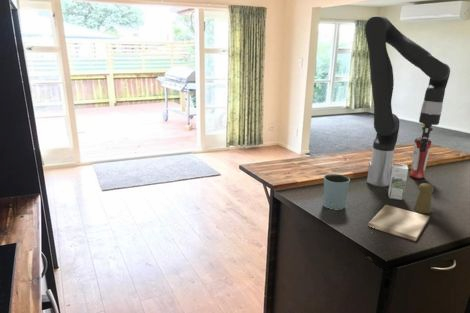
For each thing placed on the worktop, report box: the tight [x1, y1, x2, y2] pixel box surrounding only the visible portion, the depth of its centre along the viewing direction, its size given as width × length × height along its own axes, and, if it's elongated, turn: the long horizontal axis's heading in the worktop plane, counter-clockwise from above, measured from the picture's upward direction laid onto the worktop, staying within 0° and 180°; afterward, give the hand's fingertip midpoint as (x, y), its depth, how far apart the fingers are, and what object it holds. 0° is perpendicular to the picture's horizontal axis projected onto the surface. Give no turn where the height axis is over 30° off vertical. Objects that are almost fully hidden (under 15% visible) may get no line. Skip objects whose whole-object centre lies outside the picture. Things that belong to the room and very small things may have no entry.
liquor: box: [409, 123, 432, 180], centre depth 177 cm, size 7×7×28 cm
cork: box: [413, 182, 435, 214], centre depth 144 cm, size 6×6×11 cm
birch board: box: [367, 204, 430, 242], centre depth 134 cm, size 16×20×2 cm
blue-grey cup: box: [322, 173, 351, 210], centre depth 146 cm, size 10×10×12 cm
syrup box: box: [387, 162, 409, 201], centre depth 155 cm, size 6×6×14 cm
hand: (422, 149), depth 155 cm, fingers open, 8 cm apart
